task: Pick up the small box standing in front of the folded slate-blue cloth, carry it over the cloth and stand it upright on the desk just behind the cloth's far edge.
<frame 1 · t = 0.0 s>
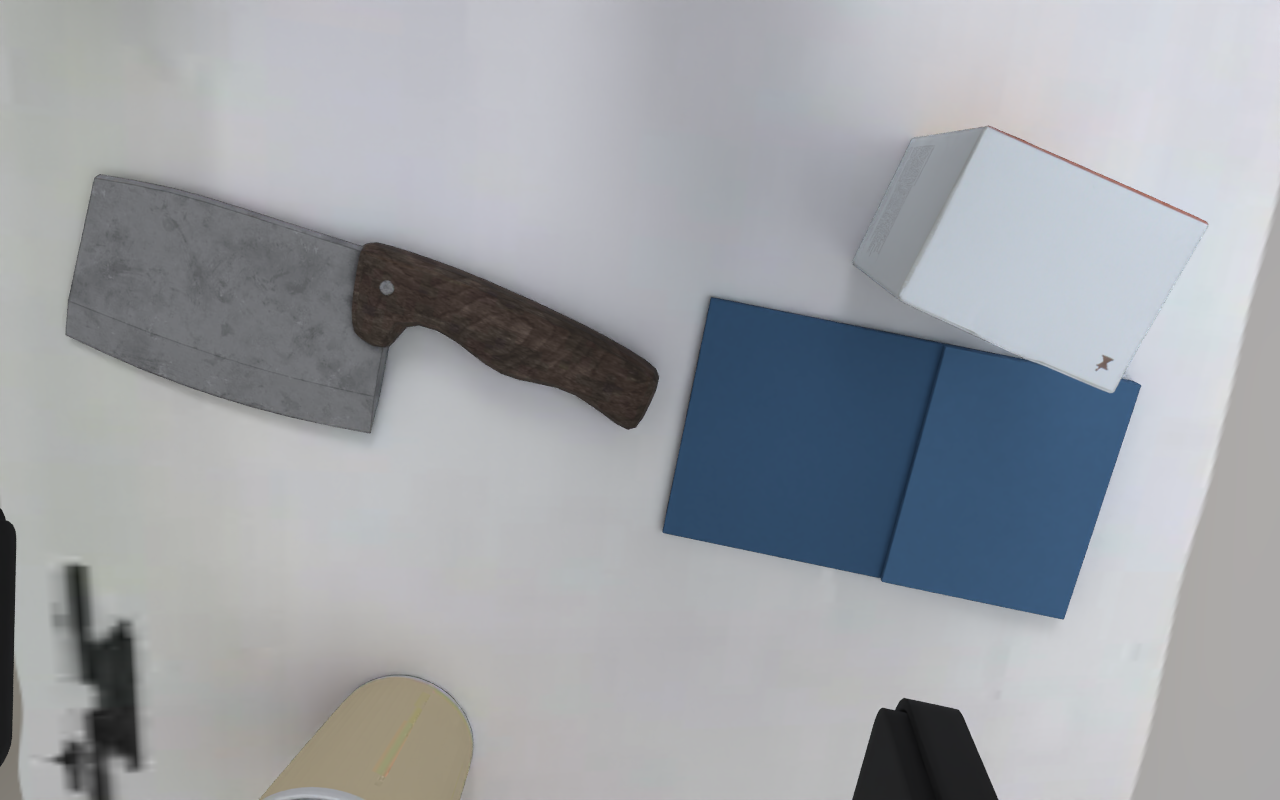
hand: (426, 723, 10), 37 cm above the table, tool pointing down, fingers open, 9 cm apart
cloth: (888, 458, 47), on the table
small box: (958, 234, 44), on the table
coffee cup: (406, 735, 53), on the table
cleaver: (362, 329, 48), on the table
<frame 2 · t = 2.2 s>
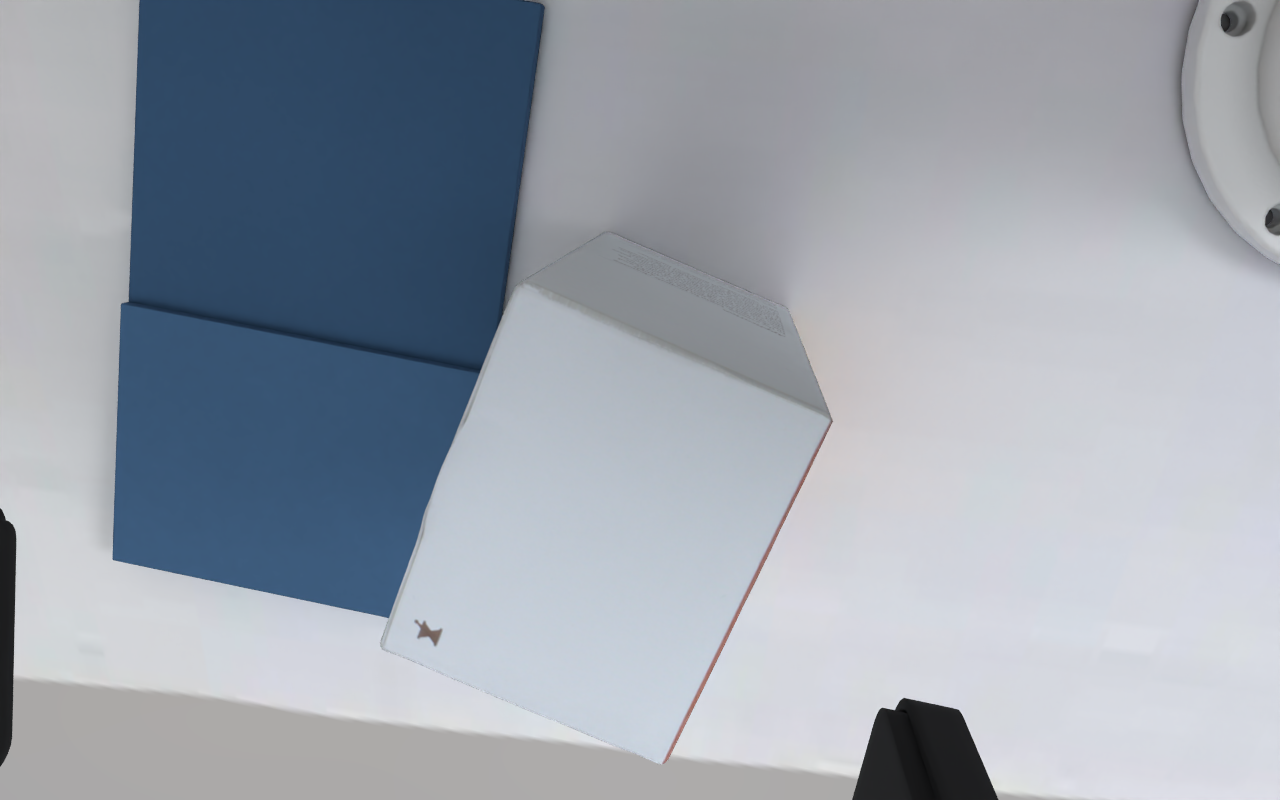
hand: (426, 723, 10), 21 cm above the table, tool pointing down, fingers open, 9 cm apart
cloth: (317, 303, 31), on the table
small box: (651, 382, 31), on the table
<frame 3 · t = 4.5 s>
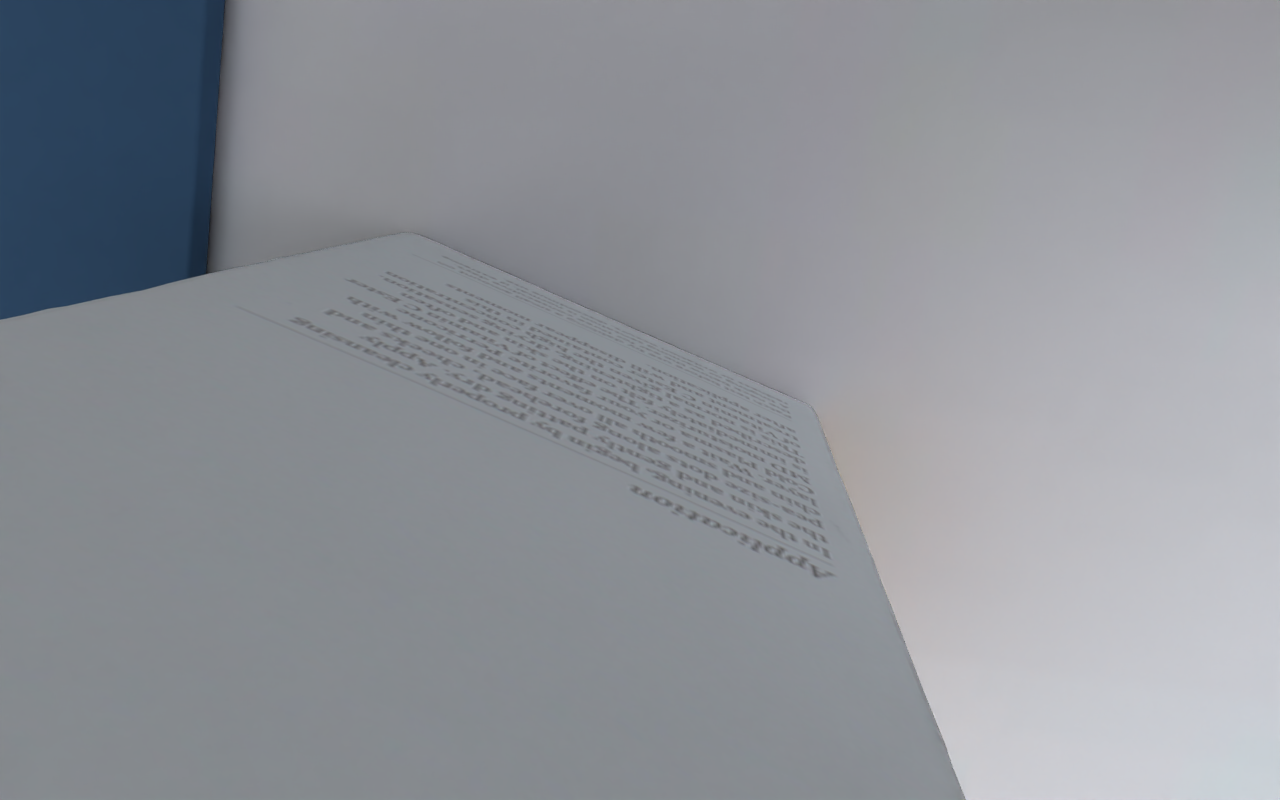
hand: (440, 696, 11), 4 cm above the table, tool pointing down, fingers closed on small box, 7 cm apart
small box: (519, 551, 15), on the table, touching gripper
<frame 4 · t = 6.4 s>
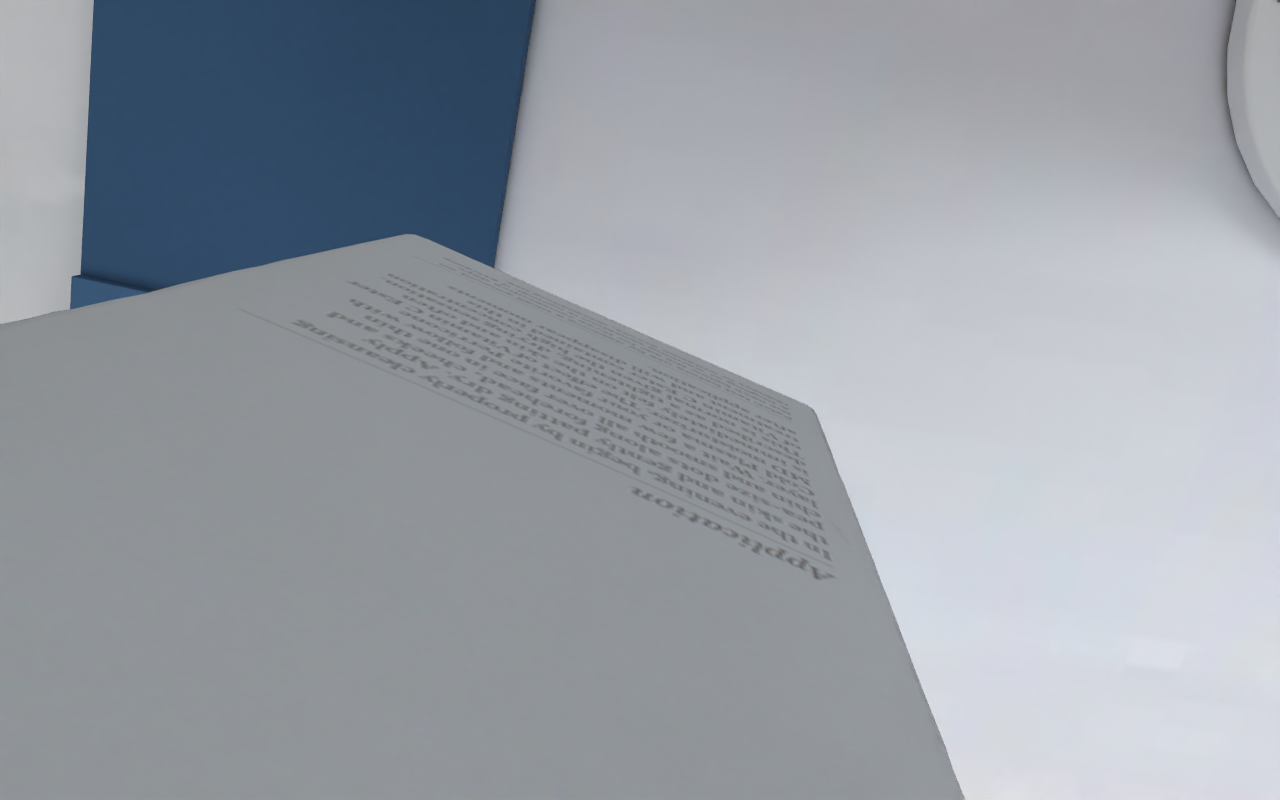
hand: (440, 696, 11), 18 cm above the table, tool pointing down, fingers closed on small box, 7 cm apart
cloth: (287, 280, 28), on the table
small box: (520, 552, 15), point 14 cm above the table, touching gripper
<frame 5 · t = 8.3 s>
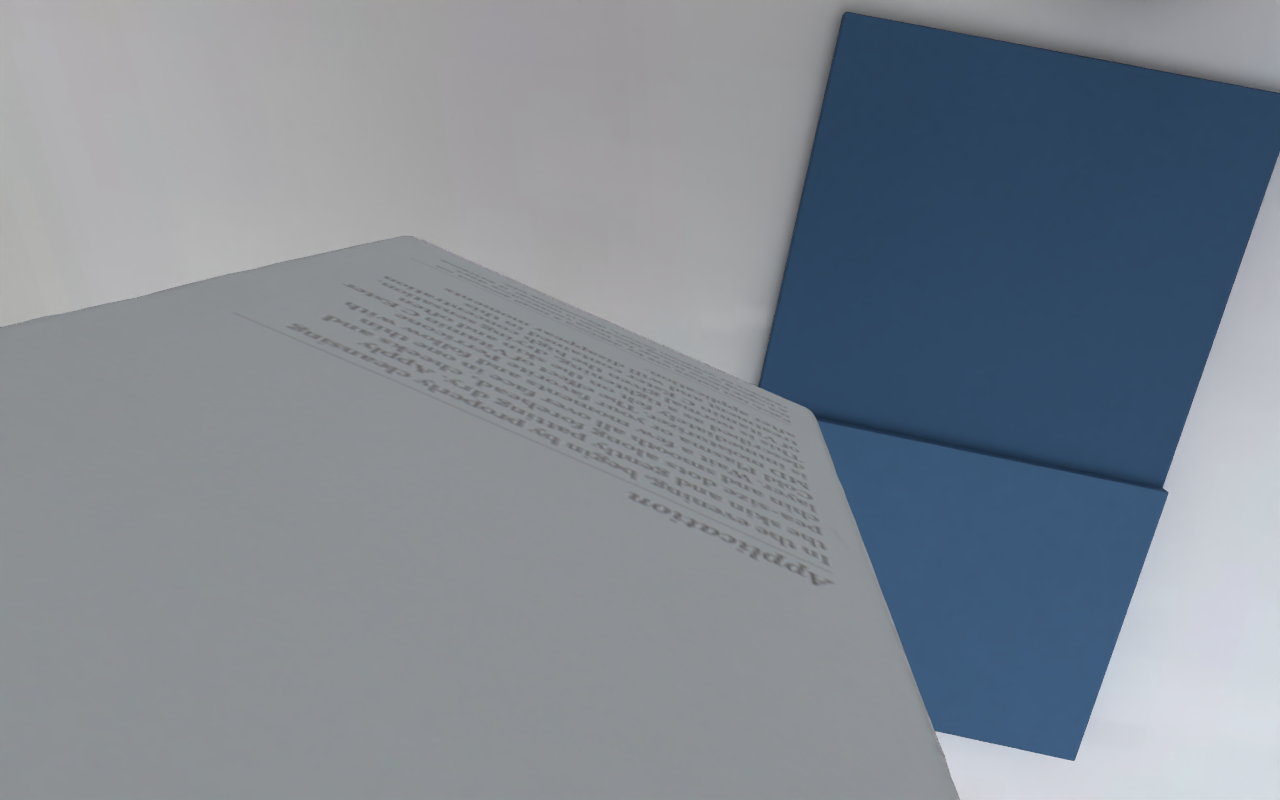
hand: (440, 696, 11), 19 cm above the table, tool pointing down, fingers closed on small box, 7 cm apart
cloth: (962, 409, 28), on the table
small box: (518, 555, 14), point 15 cm above the table, touching gripper
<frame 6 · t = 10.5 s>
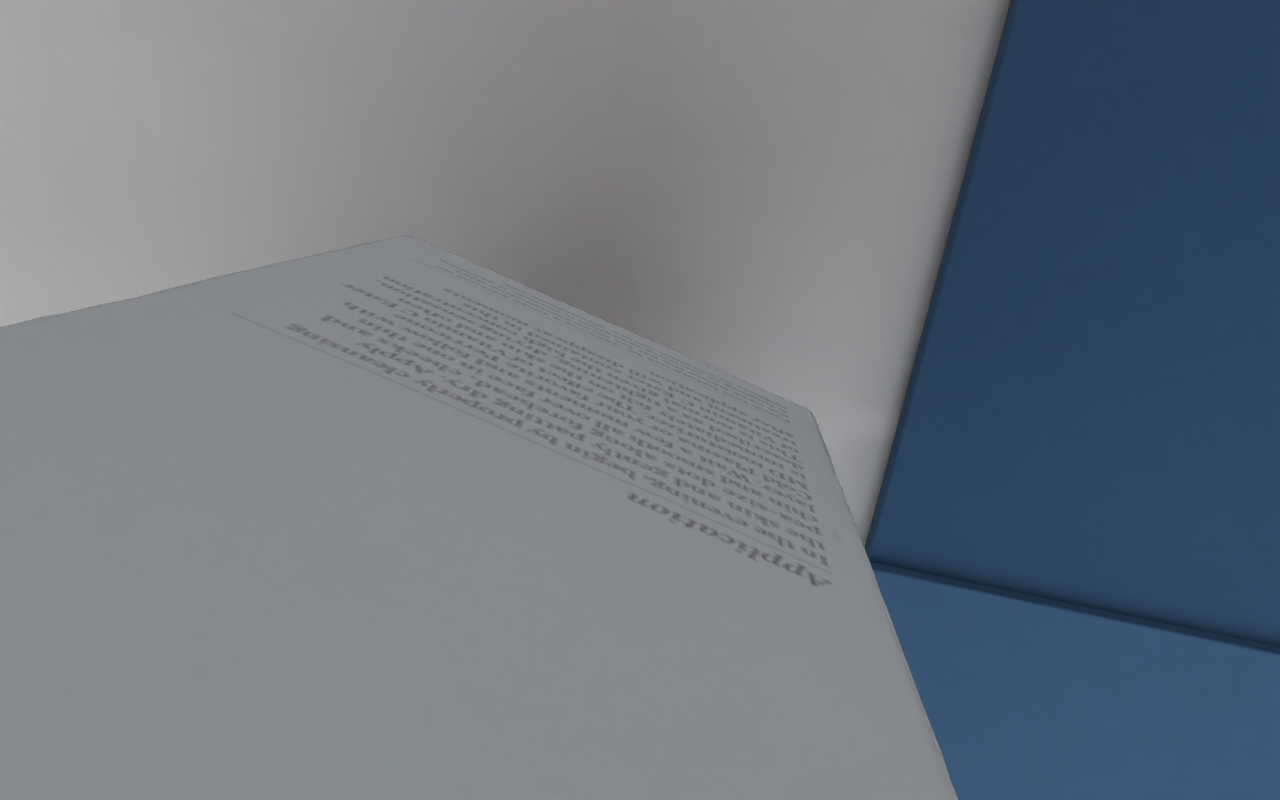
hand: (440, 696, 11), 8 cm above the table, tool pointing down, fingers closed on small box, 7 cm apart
cloth: (1191, 566, 18), on the table
small box: (517, 555, 14), point 4 cm above the table, touching gripper
when the fingers open (4 cm above the table, at t = 12.2 s): small box stays where it is, on the table.
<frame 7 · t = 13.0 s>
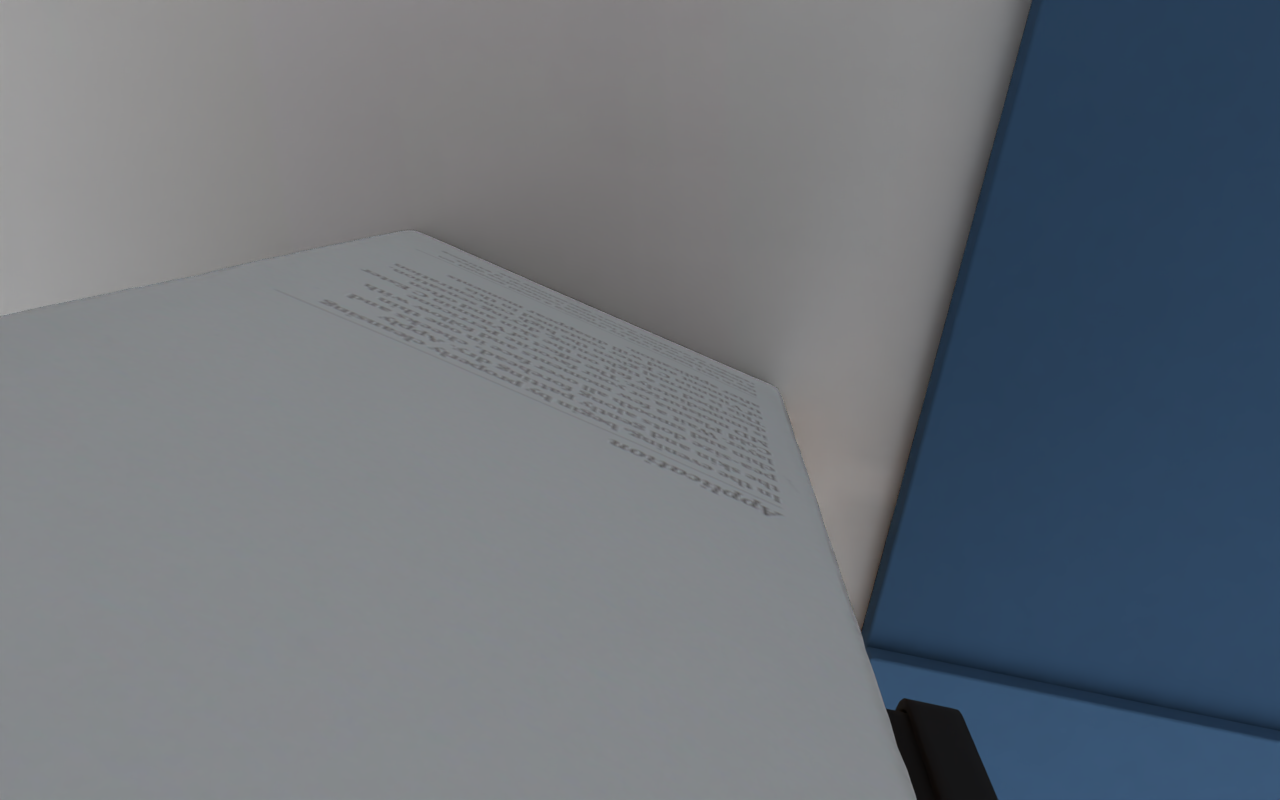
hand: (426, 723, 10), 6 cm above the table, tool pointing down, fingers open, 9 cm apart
cloth: (1251, 650, 15), on the table
small box: (511, 523, 16), on the table
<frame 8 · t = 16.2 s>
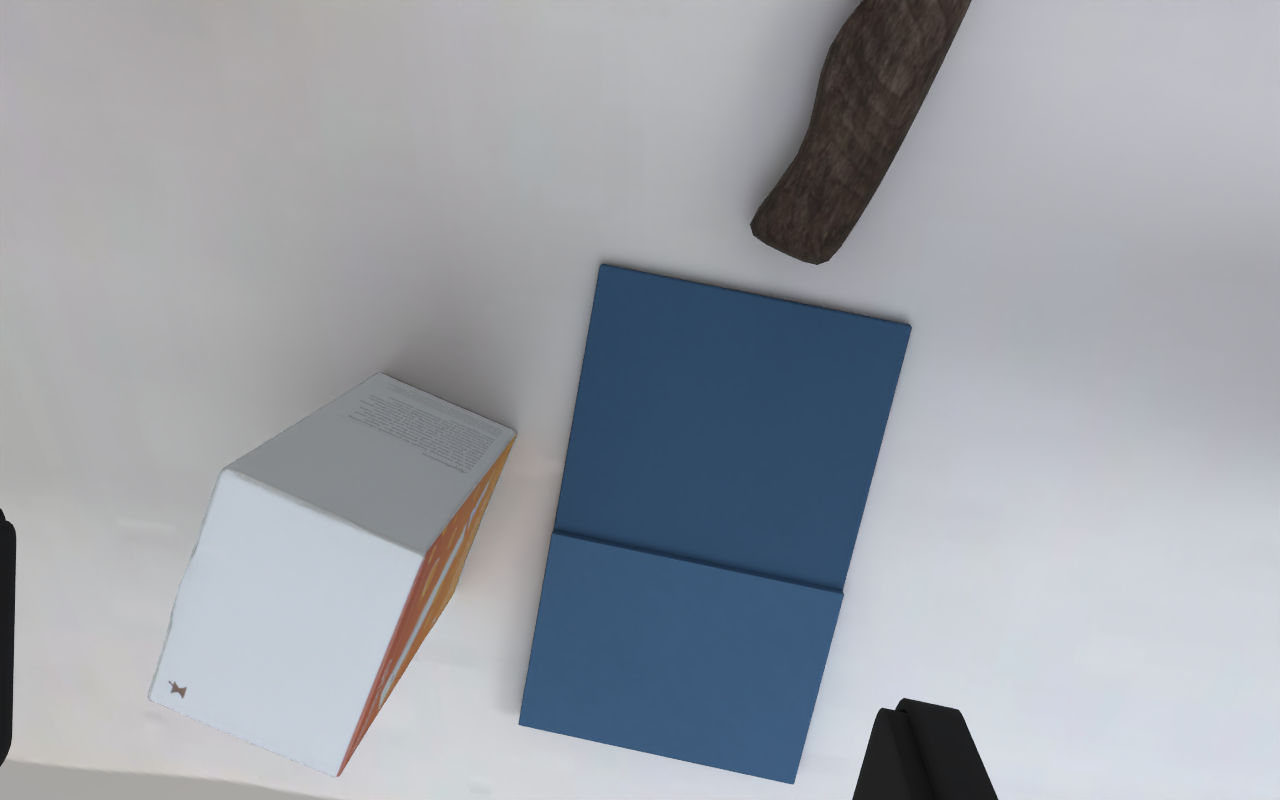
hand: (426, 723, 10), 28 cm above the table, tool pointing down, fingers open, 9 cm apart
cloth: (702, 532, 39), on the table
small box: (420, 482, 40), on the table
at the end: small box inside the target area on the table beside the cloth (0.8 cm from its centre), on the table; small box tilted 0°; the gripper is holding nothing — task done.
